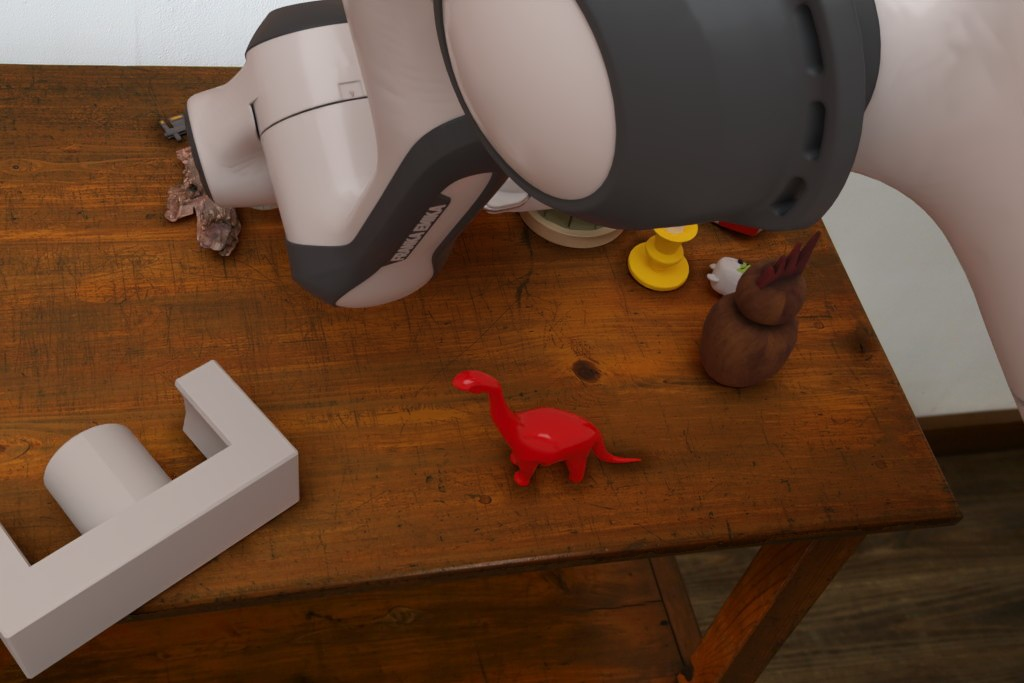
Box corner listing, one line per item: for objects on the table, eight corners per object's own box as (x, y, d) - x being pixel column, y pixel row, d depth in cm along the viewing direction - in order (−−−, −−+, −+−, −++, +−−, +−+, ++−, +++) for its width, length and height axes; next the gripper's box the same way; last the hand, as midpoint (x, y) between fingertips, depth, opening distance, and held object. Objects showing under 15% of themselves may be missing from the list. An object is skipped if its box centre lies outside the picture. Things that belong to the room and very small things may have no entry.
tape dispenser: (29, 681, 60) (5, 638, 55) (-48, 566, 63) (-77, 517, 59) (300, 500, 69) (299, 451, 65) (220, 410, 73) (213, 357, 68)
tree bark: (221, 154, 88) (219, 131, 86) (249, 259, 82) (248, 237, 80) (152, 162, 86) (148, 139, 84) (175, 270, 80) (171, 248, 78)
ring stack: (651, 225, 90) (660, 198, 88) (559, 264, 86) (566, 237, 83) (584, 153, 95) (591, 125, 92) (493, 187, 90) (498, 159, 88)
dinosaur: (646, 485, 74) (695, 387, 65) (439, 503, 71) (457, 403, 61) (633, 438, 76) (678, 337, 67) (432, 454, 73) (448, 349, 64)
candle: (697, 286, 86) (758, 147, 74) (640, 296, 85) (694, 154, 73) (673, 241, 89) (728, 99, 77) (618, 249, 88) (665, 106, 76)
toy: (883, 345, 79) (706, 260, 83) (864, 378, 81) (691, 293, 84) (891, 316, 85) (725, 237, 88) (873, 347, 86) (710, 269, 90)
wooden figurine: (760, 338, 84) (831, 208, 72) (780, 396, 81) (858, 270, 69) (681, 339, 83) (740, 207, 71) (699, 399, 80) (763, 271, 68)
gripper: (479, 182, 67) (662, 144, 71) (373, -6, 77) (539, -28, 82) (468, 248, 72) (640, 208, 76) (370, 63, 82) (527, 38, 87)
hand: (587, 85), depth 79 cm, fingers open, 8 cm apart
